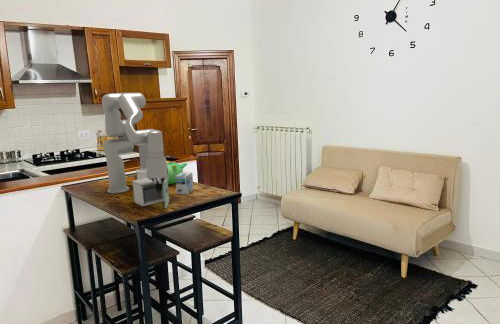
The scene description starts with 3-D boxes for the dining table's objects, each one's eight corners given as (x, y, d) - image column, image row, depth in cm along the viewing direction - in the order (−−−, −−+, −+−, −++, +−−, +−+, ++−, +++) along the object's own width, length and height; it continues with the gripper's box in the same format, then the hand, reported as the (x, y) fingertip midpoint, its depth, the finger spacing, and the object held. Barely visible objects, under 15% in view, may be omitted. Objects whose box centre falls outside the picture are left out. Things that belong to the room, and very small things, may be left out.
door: (165, 208, 189) (163, 185, 187) (167, 200, 203) (165, 178, 200) (168, 207, 189) (166, 184, 187) (170, 199, 203) (168, 178, 201)
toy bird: (166, 179, 251) (164, 158, 248) (189, 180, 246) (187, 158, 243) (152, 186, 234) (150, 163, 231) (177, 187, 229) (175, 164, 226)
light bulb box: (187, 194, 213) (186, 176, 211) (176, 194, 215) (174, 176, 213) (193, 189, 224) (192, 171, 222) (183, 189, 225) (181, 171, 223)
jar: (147, 198, 209) (145, 171, 206) (134, 196, 215) (132, 170, 212) (161, 193, 218) (159, 168, 215) (148, 191, 223) (146, 166, 221)
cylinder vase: (164, 177, 258) (161, 141, 254) (152, 181, 247) (149, 144, 242) (149, 176, 264) (146, 140, 259) (137, 180, 252) (134, 143, 248)
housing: (134, 202, 202) (132, 180, 200) (158, 196, 211) (156, 176, 208) (142, 206, 194) (140, 183, 192) (166, 200, 203) (165, 179, 201)
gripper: (138, 157, 185) (142, 192, 189) (168, 156, 184) (171, 192, 187) (144, 154, 192) (147, 188, 196) (172, 153, 191) (175, 188, 194)
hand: (159, 190), depth 192 cm, fingers closed
